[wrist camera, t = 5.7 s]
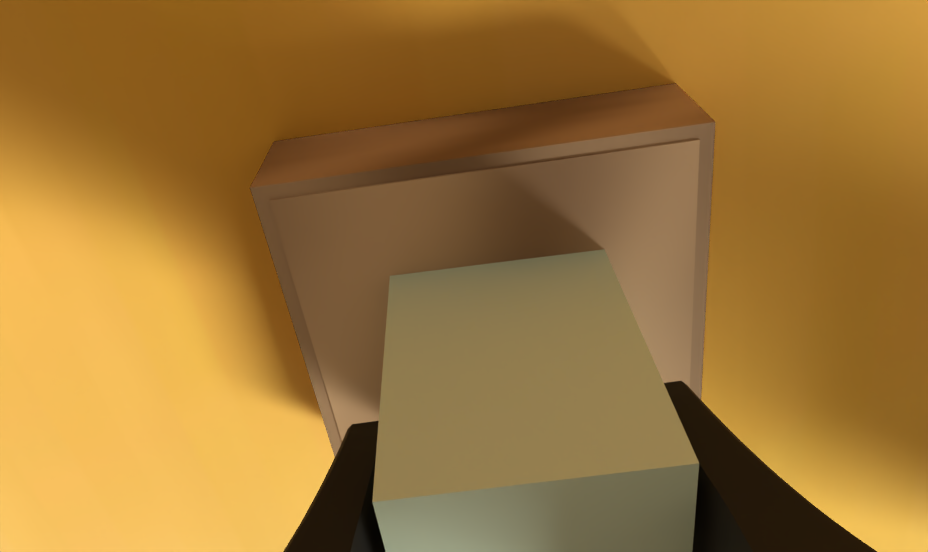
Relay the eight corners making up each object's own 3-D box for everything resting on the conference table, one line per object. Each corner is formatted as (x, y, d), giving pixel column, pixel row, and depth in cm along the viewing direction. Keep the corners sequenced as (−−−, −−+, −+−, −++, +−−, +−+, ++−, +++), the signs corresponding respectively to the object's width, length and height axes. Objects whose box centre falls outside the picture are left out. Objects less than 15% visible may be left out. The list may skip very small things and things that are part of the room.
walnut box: (669, 77, 16) (716, 122, 14) (664, 383, 21) (698, 461, 18) (277, 133, 16) (249, 189, 14) (359, 423, 21) (349, 505, 19)
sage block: (604, 249, 15) (698, 463, 10) (607, 411, 17) (684, 652, 12) (389, 276, 15) (372, 502, 10) (421, 433, 17) (420, 682, 12)
